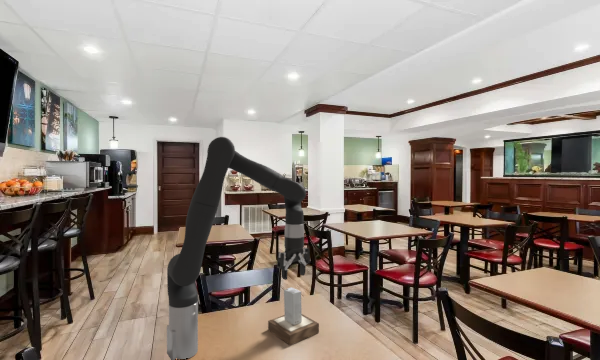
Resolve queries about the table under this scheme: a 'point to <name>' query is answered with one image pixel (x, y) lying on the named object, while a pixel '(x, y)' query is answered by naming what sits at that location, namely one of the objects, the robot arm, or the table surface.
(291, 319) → the skincare box
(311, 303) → the table surface
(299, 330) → the walnut stand
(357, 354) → the table surface
